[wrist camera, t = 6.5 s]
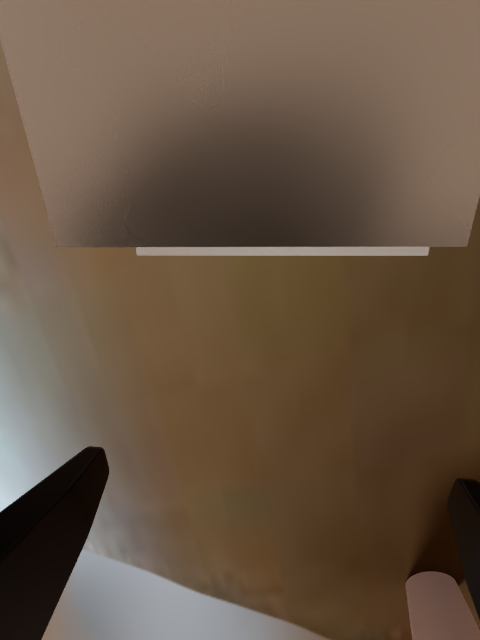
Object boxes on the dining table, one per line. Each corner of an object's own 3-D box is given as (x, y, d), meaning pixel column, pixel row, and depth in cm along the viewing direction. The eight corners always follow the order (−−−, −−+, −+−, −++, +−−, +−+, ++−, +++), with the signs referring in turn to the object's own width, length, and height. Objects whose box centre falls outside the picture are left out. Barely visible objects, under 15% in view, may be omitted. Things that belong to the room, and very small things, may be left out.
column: (360, -14, 10) (767, -788, 1) (345, 163, 12) (479, 262, 3) (200, 0, 10) (-180, -521, 2) (211, 167, 12) (47, 260, 4)
